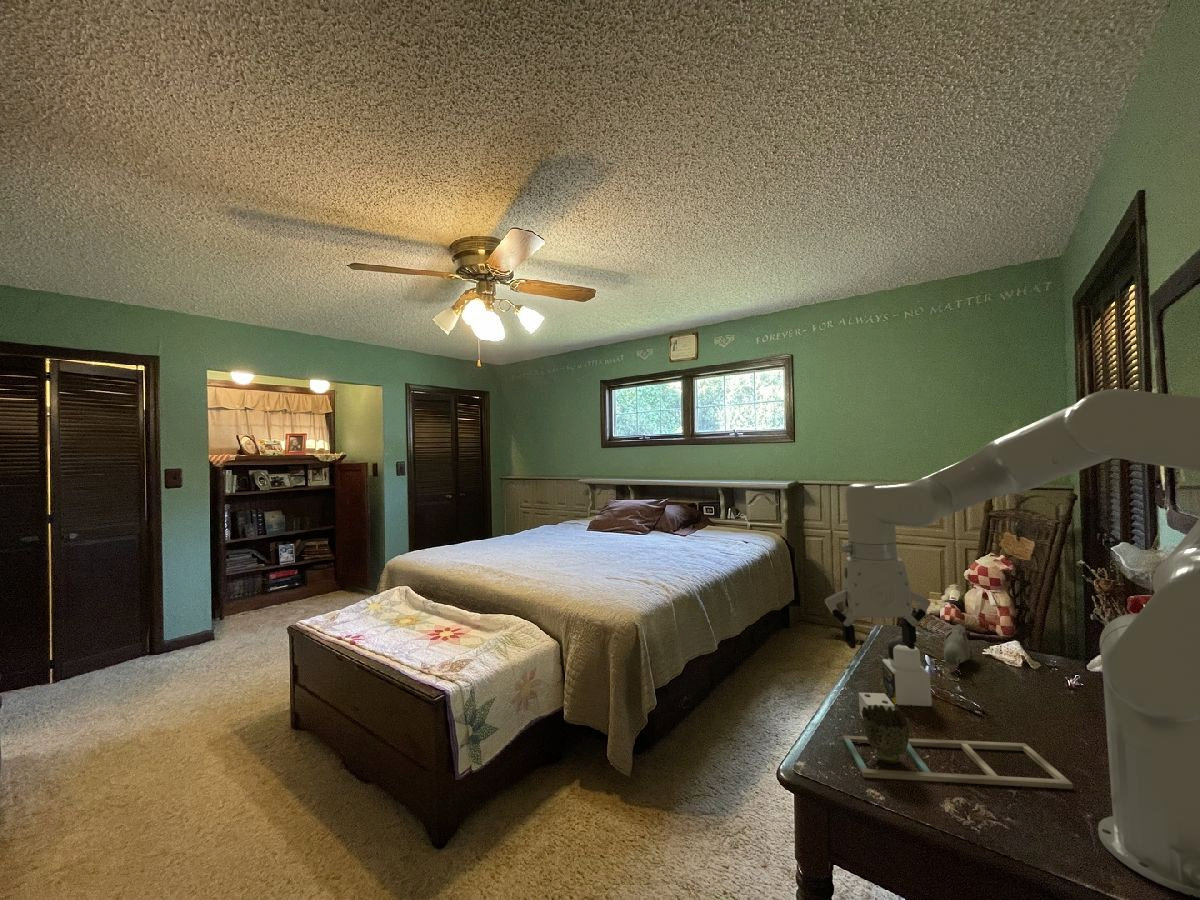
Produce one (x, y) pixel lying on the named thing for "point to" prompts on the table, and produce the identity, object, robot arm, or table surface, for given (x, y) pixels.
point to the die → (874, 701)
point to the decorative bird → (956, 647)
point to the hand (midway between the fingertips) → (879, 646)
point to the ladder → (989, 778)
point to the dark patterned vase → (886, 732)
